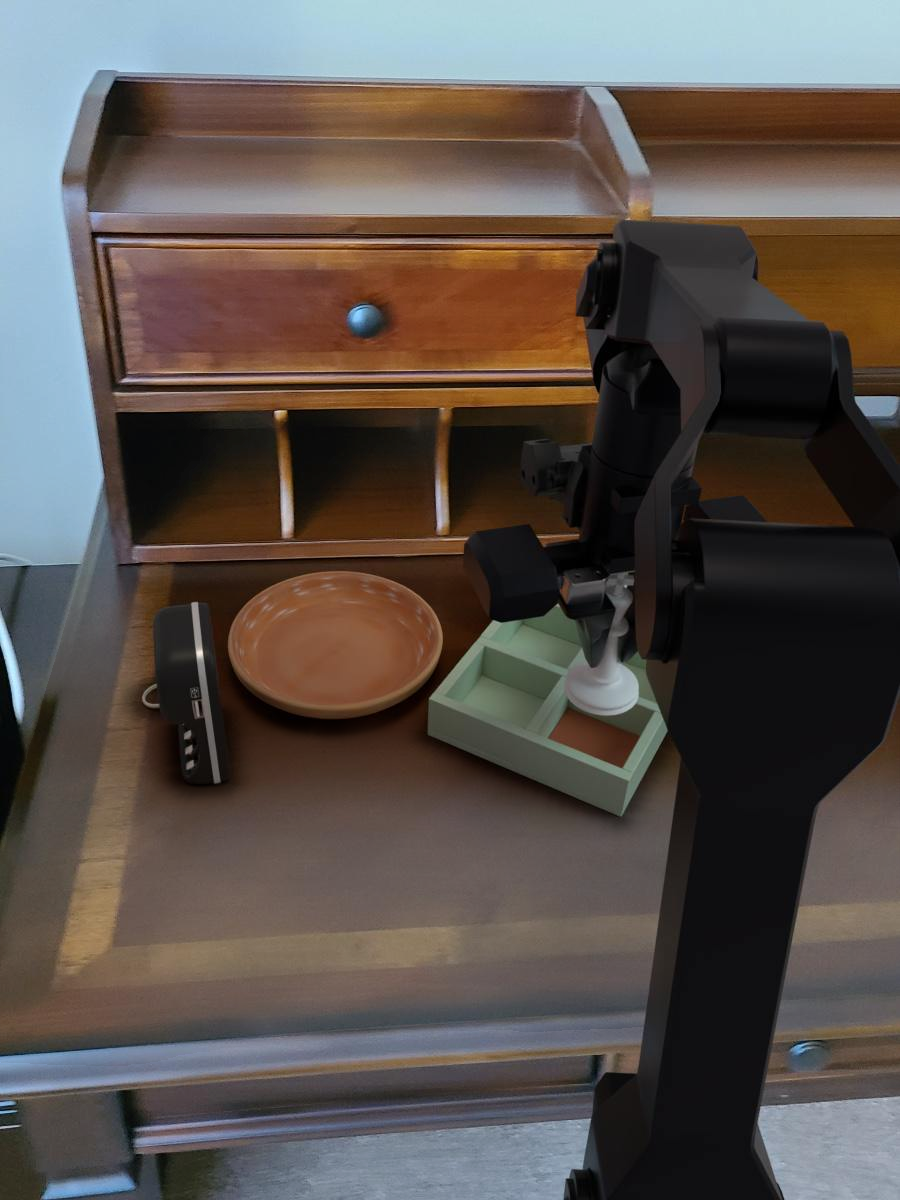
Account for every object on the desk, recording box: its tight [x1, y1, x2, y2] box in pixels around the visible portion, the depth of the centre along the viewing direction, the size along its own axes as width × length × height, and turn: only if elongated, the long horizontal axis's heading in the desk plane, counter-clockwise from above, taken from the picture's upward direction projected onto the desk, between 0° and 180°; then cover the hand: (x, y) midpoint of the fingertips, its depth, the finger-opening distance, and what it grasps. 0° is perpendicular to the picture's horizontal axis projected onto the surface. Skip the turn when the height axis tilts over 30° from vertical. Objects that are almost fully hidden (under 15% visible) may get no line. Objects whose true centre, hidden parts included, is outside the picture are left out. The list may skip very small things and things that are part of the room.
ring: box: [141, 683, 160, 709], centre depth 78 cm, size 3×1×3 cm
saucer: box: [227, 570, 444, 720], centre depth 81 cm, size 16×16×3 cm
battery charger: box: [152, 601, 231, 785], centre depth 70 cm, size 7×4×11 cm, turn 14°
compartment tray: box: [427, 573, 668, 818], centre depth 80 cm, size 22×15×4 cm
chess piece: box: [564, 573, 639, 716], centre depth 68 cm, size 5×5×10 cm
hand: (606, 660), depth 69 cm, fingers closed on chess piece
